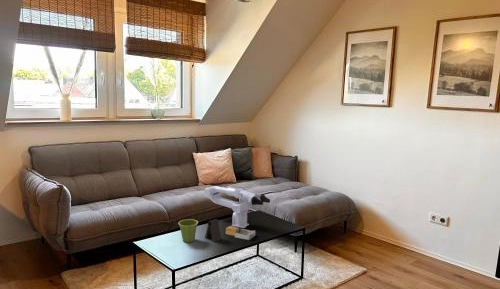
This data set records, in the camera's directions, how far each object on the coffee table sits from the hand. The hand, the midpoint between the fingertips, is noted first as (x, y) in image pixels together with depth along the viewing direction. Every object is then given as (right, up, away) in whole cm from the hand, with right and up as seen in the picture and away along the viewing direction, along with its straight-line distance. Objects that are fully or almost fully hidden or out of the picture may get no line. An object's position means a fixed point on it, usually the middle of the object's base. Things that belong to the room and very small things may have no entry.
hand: (266, 202), depth 234 cm
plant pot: (-48, -21, -12) cm, 54 cm away
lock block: (-22, -20, 0) cm, 30 cm away
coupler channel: (-14, -21, -4) cm, 25 cm away
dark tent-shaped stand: (-33, -21, -9) cm, 40 cm away
